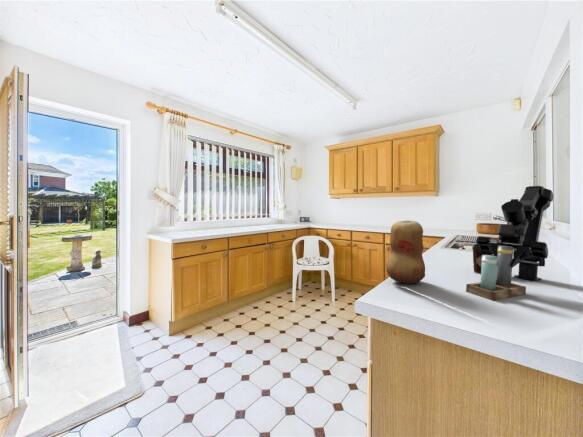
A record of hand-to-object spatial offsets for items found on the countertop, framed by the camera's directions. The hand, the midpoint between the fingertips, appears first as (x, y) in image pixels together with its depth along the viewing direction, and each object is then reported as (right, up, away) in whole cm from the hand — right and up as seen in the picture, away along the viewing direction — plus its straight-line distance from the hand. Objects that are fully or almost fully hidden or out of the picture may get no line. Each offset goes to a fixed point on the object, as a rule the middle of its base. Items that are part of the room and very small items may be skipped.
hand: (503, 265), depth 85 cm
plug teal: (-6, -9, -1) cm, 12 cm away
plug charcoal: (+1, -7, +1) cm, 7 cm away
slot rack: (-3, -10, 0) cm, 11 cm away
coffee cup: (+14, -9, +27) cm, 32 cm away
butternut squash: (-28, -10, +12) cm, 32 cm away
